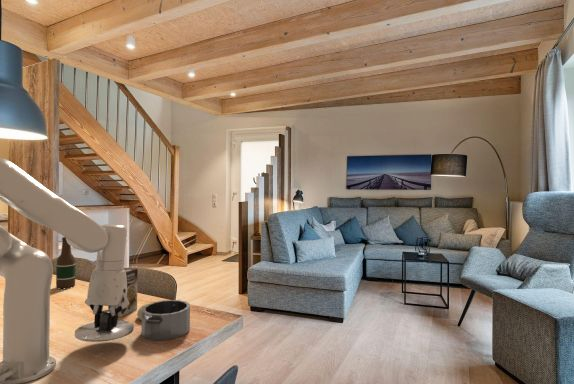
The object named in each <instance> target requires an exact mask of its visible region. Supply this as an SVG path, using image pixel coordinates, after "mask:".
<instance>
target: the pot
mask: <svg viewBox="0 0 574 384" xmlns="http://www.w3.org/2000/svg"><path fill="white" fill-rule="evenodd" d="M147 304H148V305H146V304H145V305H146V306H144V307H143V309H142V320H141V336H142V338H143V339H146V340H149V341H154V342H155V341H156V342H162V341H170V340H174V339H178V338H181V337H183V336H185V335H187V334H188V333H189V332H190V330H191V325H190V324H191V320H190V319H191V316H190V315H191V304H190V302H187V301H185V300H181V299H167V300H166V299H164V300H159V301H154V302H151V303H147Z"/></svg>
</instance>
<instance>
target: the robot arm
mask: <svg viewBox="0 0 574 384" xmlns="http://www.w3.org/2000/svg"><path fill="white" fill-rule="evenodd" d="M0 201H1V202H3V203H4V204H6V205H7V206H9V208H12V210H15V211H17V212H18V213H19V214H20V215H22V216H23V217H25V218H26V219H28V220H29V221H31V222H34V223H36V224H38V225H41V226H44V227H46V228H48V229H50V230H53V231H54V232H56V233H57V234H59V235H61V236H62V237H66V241H67V243H68V244H69V245H70V246H71V248H73V249H76V250H79V251H83V252H85V253H88V254H89V253H90V254H92V253H94V254H95V253H96V254H97V255H96V259H95V260H93V262H92V265H93V266H95V269H93V270H92V272H91V275H90V279H89V284H88V287H87V295H86V299H85V301H84V304H86V306H88V307H89V308H90V309H91V311H92V314H93V315H94V319H93V322H94V324H95V326H94V328H98V327H99V317H100V312H101V311H104V310H103V309H104V306H105V307H108V306H111V315H110V316H109V323H108V329H110V330H111V329H112V328H114V327H116V325H117V321H118V318H119V316H118V313H120V311H122V310H123V309H124V308H126V307H128V306H129V305H130V303H129V301H128V299H127V277H126V271H125V270H124V268H125V255H126V246H127V245H126V244H127V243H126V242H127V232H128V231H127V227H126V226H125V225H123V224H113V223H112V224H103V225H101V224H99V223H98V222H97V221H95V220H94V219H93V218H91V216H89V215H87V214H85V213H84V212H83V211H81V210H80V209H78V208H77V207H76V206H74V205H71V204H70V203H69V202H68V201H66V200H65V199H63V198H62V197H60V196H58V195H57V194H55V193H54V192H53V191H52V190H50V189H48V188H47V187H45V185H43V184H42V183H40V182H39V181H38V180H37V179H35V178H34V177H33V176H32V175H30V174H28V172H26V171H25V170H23V169H22V168H20V167H19V166H18V165H16V164H15V163H13V162H12V161H10V160H8V159H6V158H3V157H0ZM53 274H54V266H53V261H52V259H51V258H50V256H49V255H48V254H47V253H46V252H44V251H43V250H41V249H38V248H36V247H32V246H31V245H29V244H27V243H26V242H24V241H22V240H21V239H20V238H18V237H16V235H13V234H12V233H10V232H9V230H7V229H6V228H5V227H4V226H2V225H1V224H0V276H1V277H3V278H4V282H5V283H4V285H5V286H4V292H3V293H4V294H3V303H2V309H3V310H2V316H3V318H2V319H3V320H2V324H3V325H2V327H3V328H2V330H3V331H2V333H3V335H2V361H0V384H24V383H29V382H32V381H35V380H37V379H39V378H42V377H44V376H46V375H48V374H49V373H51V372H52V371H53V370H54V369H55V368H56V365H57V360H56V358H55V357H53V356H50V332H51V329H50V327H51V325H50V323H51V322H50V319H51V318H50V316H51V310H50V309H51V308H50V306H51V285H52V282H53V281H52V280H53ZM120 303H123V304H122V305H121V306H120Z"/></svg>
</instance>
